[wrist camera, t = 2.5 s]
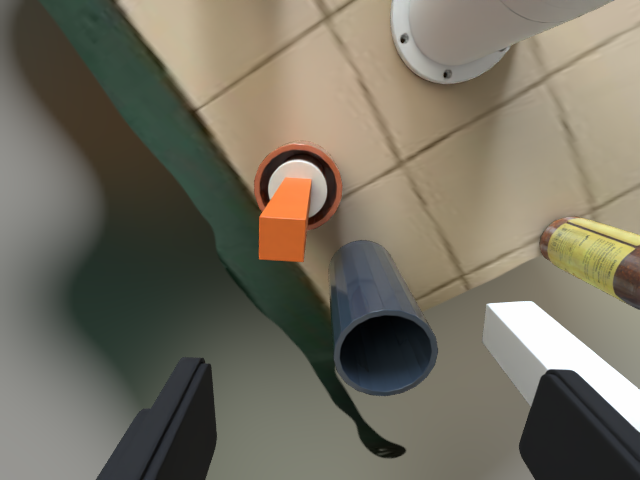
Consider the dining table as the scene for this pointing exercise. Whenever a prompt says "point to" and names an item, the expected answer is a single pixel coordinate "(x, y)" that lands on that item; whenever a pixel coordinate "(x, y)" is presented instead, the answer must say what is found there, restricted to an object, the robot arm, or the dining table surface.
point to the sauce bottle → (596, 255)
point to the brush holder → (317, 153)
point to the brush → (291, 208)
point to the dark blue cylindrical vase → (377, 323)
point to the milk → (551, 355)
